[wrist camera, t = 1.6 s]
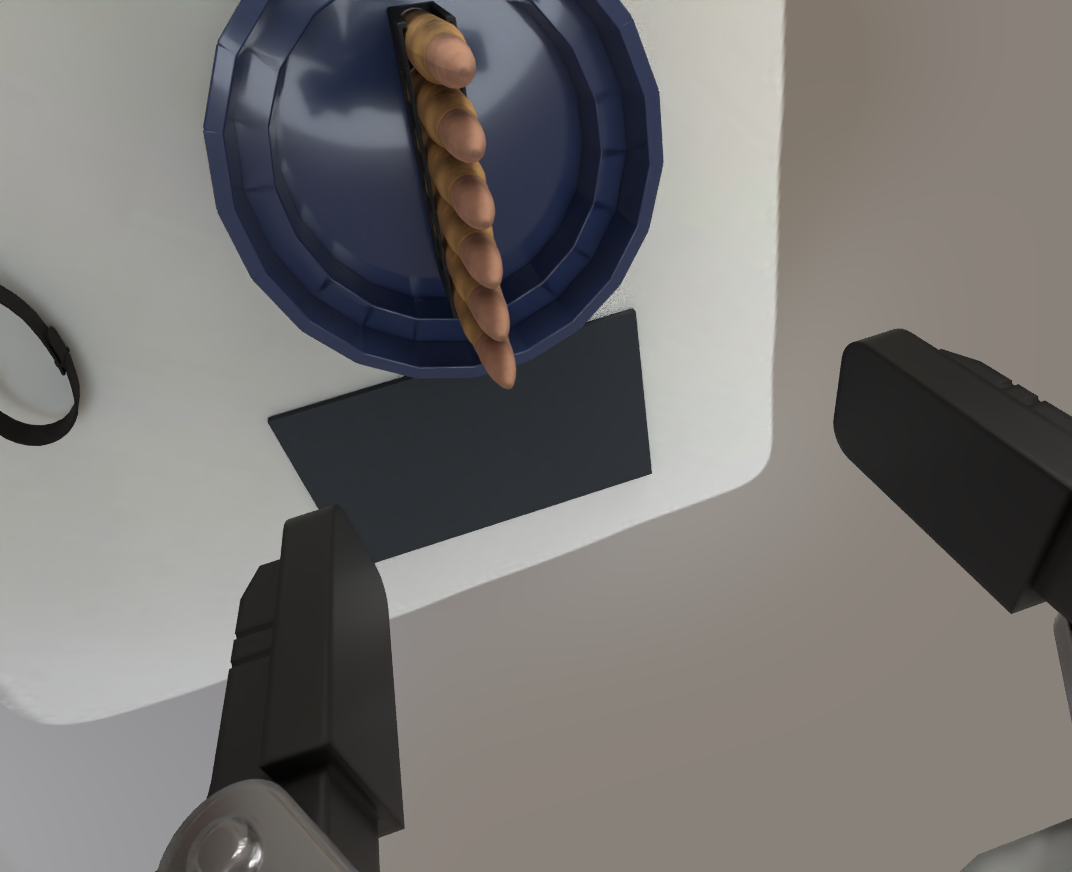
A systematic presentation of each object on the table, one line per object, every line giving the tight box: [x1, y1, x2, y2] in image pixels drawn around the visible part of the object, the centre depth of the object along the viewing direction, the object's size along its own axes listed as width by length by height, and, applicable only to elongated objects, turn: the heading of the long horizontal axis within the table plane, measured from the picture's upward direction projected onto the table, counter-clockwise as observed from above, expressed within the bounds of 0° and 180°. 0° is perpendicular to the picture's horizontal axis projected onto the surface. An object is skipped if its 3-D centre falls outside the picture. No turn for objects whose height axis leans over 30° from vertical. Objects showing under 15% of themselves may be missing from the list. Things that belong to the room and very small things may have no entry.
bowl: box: [203, 0, 663, 379], centre depth 25 cm, size 16×16×5 cm
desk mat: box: [268, 309, 652, 563], centre depth 36 cm, size 20×12×1 cm, turn 101°
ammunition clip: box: [387, 1, 516, 389], centre depth 22 cm, size 11×2×12 cm, turn 6°
